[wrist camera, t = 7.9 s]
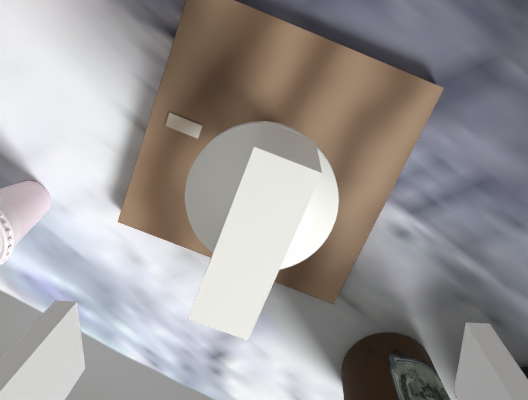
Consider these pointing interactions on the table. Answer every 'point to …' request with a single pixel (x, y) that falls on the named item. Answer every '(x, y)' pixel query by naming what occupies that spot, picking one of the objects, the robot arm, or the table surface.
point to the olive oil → (390, 370)
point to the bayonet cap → (256, 216)
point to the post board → (280, 111)
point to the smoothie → (20, 213)
